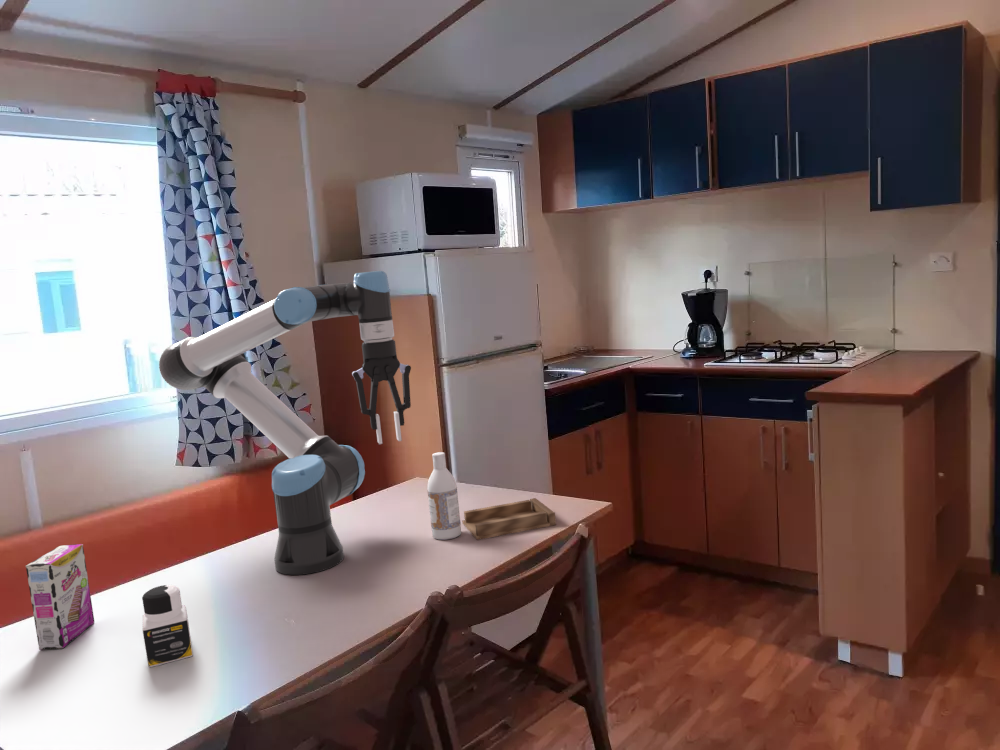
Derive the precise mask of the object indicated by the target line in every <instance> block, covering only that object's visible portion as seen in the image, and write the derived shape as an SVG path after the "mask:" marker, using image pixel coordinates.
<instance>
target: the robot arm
mask: <svg viewBox="0 0 1000 750" xmlns="http://www.w3.org/2000/svg"><path fill="white" fill-rule="evenodd" d="M389 284H390V283H389V279H388V275H387V273H386V272H385V271H383V270H375V271H364V272H356V273H354V276H353V281H352V282H344V283H330V284H327V283H324V284H319V285H313V286H309V285H308V286H294V287H290V288H287V289H283V290H282V291H280V292H279V293H278V295H277V296H276V298H274V299H272V300H270V301H269V302H266V303H264V304H261V305H260V306H259V307H256V308H254V309H252V310H250V311H248V312H247V313H244V314H242V315H240V316H238V317H236V318H233V319H232V320H230V321H228V322H226V323H223V324H222V325H220V326H218V327H216V328H214V329H212V330H210V331H207V332H206V333H204V334H202V335H200V336H197V337H195V336H189V337H186V338H184V339H181V340H180V341H178V342H175V343H172V344H170V345H169V346H167V347H166V348H165V349H164V350H163V351H162V353H161V356H160V357H159V360H158V362H159V364H158V366H159V367H158V368H159V372H160V374H161V377H162V379H163V380H164V382H165V383H167V384H168V385H169V386H171V387H173V388H174V389H178V390H183V391H191V390H196V389H200V388H203V387H204V388H205V390H207V391H208V392H209V393H210V394H211V395H212V396H213V397H214V398H215V399H226V400H227V402H229V403H230V404H231V405H232V406H233V407H234V408H235V409H236V410H237V411H239V412H240V413H241V414H242V415H243V416H244V417H245V418H246V419H247V420H248V421H249V422H250V423H251V424H253V426H255V428H257V430H259V431H260V432H261V433H262V434H263V435H264V436H265V438H267V439H268V440H269V441H270V442H271V443H272V444H273V445H275V446H276V447H277V448H278V449H279V450H280V451H281V452H282V453H283V454H284V455H285V456H286V457H287V458H288V459H285V460H283V461H281V462H280V463H278V464H277V465H275V466H274V468H273V469H272V472H271V489H272V492H273V500H274V506H275V515H276V521H277V529H278V536H277V537H278V539H277V543H276V549H275V552H274V553H275V554H274V559H273V560H274V567H275V571H276V572H278V573H279V574H283V575H288V576H289V575H291V576H296V575H298V576H299V575H309V574H313V573H314V574H315V573H318V572H322V571H325V570H328V569H330V568H333V567H334V566H336V565H338V564H340V563H341V562H342V561H343V559H344V557H345V555H344V547H343V545H342V543H341V541H340V539H339V536H338V535H337V532H336V530H335V529H334V526H333V522H332V516H331V515H332V514H331V513H332V512H331V508H330V506H332V505H333V504H335V503H337V502H339V501H340V500H342V499H344V498H346V497H349V496H351V495H352V494H353V493H354V492H355V491H357V489H359V488H360V486H361V485H362V483H363V482H364V479H365V475H366V471H365V462H364V459H363V457H362V455H361V454H360V453H359V451H358V450H357V449H356V448H354V447H352V446H351V445H344V444H338V443H337V442H335V440H333V439H332V438H331V437H330V436H329V435H319V434H317V433H316V432H315V431H314V430H313V429H312V428H311V427H310V426H309V425H308V424H306V422H304V420H302V419H301V418H300V417H299V416H298V415H297V414H296V413H295V412H294V411H292V410H291V408H289V407H288V405H286V404H285V403H284V402H283V401H282V400H281V399H280V398H278V397H277V395H276V394H274V392H272V391H271V390H270V389H269V388H268V387H267V386H265V384H264V383H262V382H261V381H260V380H259V379H258V377H256V376H255V375H254V374H253V373H252V364H251V363H250V362H249V357H248V356H247V352H248V351H250V350H252V349H254V348H257V347H259V346H261V345H263V344H265V343H267V342H269V341H271V340H273V339H275V338H277V337H279V336H281V335H284V334H286V333H288V332H290V331H291V330H295V329H297V328H298V327H301V326H303V325H305V324H307V323H310V322H314V321H321V320H327V319H332V318H340V317H341V318H342V317H349V316H357V317H358V323H359V334H360V340H362V341H363V342H362V344H361V349H362V351H361V352H362V360H363V362H362V366H361V368H359V369H357V370H354V371H352V372H351V376H352V377H353V379H354V381H355V383H356V384H355V385H356V390H357V394H358V395H357V397H358V401H359V408H360V413H361V414H363V415H366V416H369V419H370V420H369V421H370V428H371V429H372V430H374V431H375V430H376V431H375V432H376V440H377V441H376V442H377V443H378V445H382V444H383V436H382V429H381V428H382V427H381V419H380V415H379V414H378V413H377V401H378V389H379V383H380V382H383V381H385V382H387V384H388V387H389V389H390V393H391V396H392V399H393V402H394V405H395V409H396V411H393V419H394V428H395V435H396V437H395V438H396V440H397V441H398V442H402V441H403V439H402V430H401V426H405V416H404V415H405V414H404V412H405V411H406V410H407V409H410V408H411V406H412V405H411V404H412V403H411V389H410V385H411V384H410V373H411V371H412V366H411V365H409V364H404V363H401V362H400V361H399V359H398V355H397V348H396V347H397V346H396V340H395V339H393V338H394V337H395V331H394V329H395V328H394V321H393V316H392V315H393V314H392V303H391V295H390V294H391V289H390V285H389ZM398 369H399V371H400V374H401V380H402V381H401V384H402V396H403V397H402V400H403V403H402V400H401V397H400V394H399V391H398V388H397V385H396V380H395V375H396V373H397V371H398ZM364 373H365V374H366V376H368V377H369V378H370V396H369V405H368V406H369V408H368V406H367V401H366V395H365V388H364V384H363V379H364Z"/></svg>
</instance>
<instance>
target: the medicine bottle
mask: <svg viewBox="0 0 1000 750" xmlns="http://www.w3.org/2000/svg"><path fill="white" fill-rule="evenodd" d="M141 599H142V600H141V601H142V605H143V611H144V613H143V615H142V635H143V642H144V648H145V653H146V654H145V655H146V659H147V666H148V668H153V667H157V666H161V665H164V664H168V663H172V662H177V661H181V660H184V659H188V658H191V657H192V656H193V655H194V654H193V646H192V638H191V637H192V636H191V630H190V624H189V619H188V611H187V606H186V604H183V603H182V602H183V601H182V596H181V590H180V588H179V587H178V586H177V585H172V584H165V585H158V586H156V587H153V588H151V589H149V590H148V591H145V593H143V595H142V596H141Z"/></svg>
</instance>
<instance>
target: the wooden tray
mask: <svg viewBox="0 0 1000 750" xmlns="http://www.w3.org/2000/svg"><path fill="white" fill-rule="evenodd" d="M463 516H464V517H463V518H464V519H463V520H462V524H463V525H464V528H466V529H467V531H469V533H470V534H471V535H472V536H473V537H474V539H475V540H476V541H478V540H484V539H489V538H494V537H495V538H496V537H500V536H505V535H509V534H510V535H511V534H516V533H520V532H522V533H523V532H526V531H530V530H536V529H542V528H548V527H553V526H556V525H557V524H556V512H554V511H553V510H552V509H550V508H549V507H548V506H546V505H545V504H544V503H543V502H542V501H540V500H539V499H537V498H536V497H533V498H530V499H526V500H521V501H514V502H508V503H502V504H498V505H492V506H487V507H481V508H476V509H470V510H469V509H468V510H464V511H463Z"/></svg>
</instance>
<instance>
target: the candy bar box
mask: <svg viewBox="0 0 1000 750" xmlns="http://www.w3.org/2000/svg"><path fill="white" fill-rule="evenodd" d="M25 568H26V569H25V571H26V576H27V577H26V578H27V581H28V588H29V594H30V601H31V605H32V612H33V613H32V614H33V620H34V626H35V633H36V638H37V645H38V650H40V651H45V650H61V649H64V648H66V647H67V646H68V645H69V644H71V643H72V642H73V641H74V640H75V639H76V638H77V637H79V635H81V634H82V633H83V632H85V631H86V630H87V629H89V628H90V627H91V626H92V625H94V623H95V616H94V608H93V603H92V597H91V596H92V595H91V591H90V583H89V577H88V576H89V575H88V569H87V562H86V557H85V550H84V544H82V543H80V544H66V545H59V546H57V547H55V548H54V549H52V550H51V551H48V552H47V553H45V554H43V555H42V556H39V557H38V558H37V559H35V560H33V561H31V562H30V563H28V564H27V565H25Z"/></svg>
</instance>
